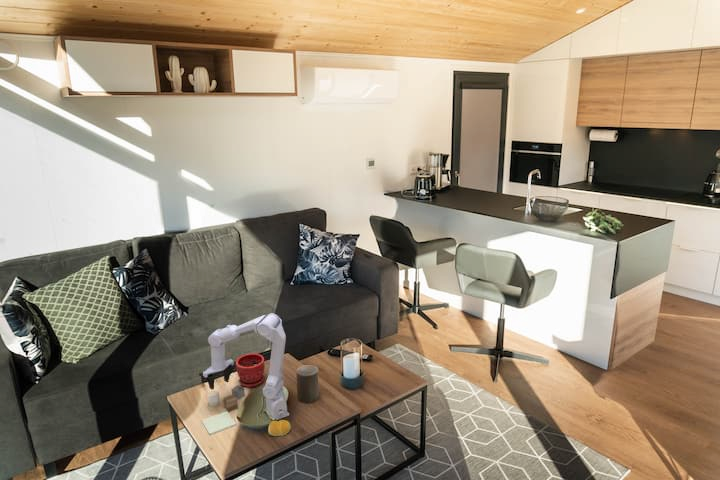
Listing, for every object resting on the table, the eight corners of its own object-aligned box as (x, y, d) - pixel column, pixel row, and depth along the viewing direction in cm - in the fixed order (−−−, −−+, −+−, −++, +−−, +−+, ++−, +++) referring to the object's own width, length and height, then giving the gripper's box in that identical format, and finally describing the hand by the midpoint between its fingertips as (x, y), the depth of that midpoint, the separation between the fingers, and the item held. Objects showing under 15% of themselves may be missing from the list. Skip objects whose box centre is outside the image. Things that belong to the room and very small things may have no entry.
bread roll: (291, 435, 197) (290, 426, 196) (268, 438, 195) (267, 429, 194) (290, 422, 204) (289, 414, 203) (268, 425, 203) (267, 417, 202)
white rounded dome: (221, 404, 218) (220, 394, 216) (210, 408, 215) (209, 398, 214) (218, 399, 222) (216, 389, 220) (207, 403, 219) (205, 393, 218)
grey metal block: (244, 395, 224) (244, 387, 223) (238, 399, 221) (237, 391, 220) (239, 392, 227) (238, 385, 226) (232, 396, 224) (231, 389, 223)
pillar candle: (304, 406, 215) (303, 375, 212) (293, 396, 223) (292, 366, 219) (323, 398, 221) (322, 368, 217) (311, 389, 229) (310, 359, 225)
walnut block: (238, 408, 215) (237, 398, 213) (227, 412, 212) (226, 402, 211) (234, 404, 218) (233, 394, 217) (224, 407, 216) (223, 397, 214)
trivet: (236, 425, 203) (236, 423, 203) (209, 435, 197) (209, 433, 197) (227, 412, 212) (227, 411, 212) (201, 421, 206) (201, 420, 206)
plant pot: (232, 382, 236) (230, 359, 232) (256, 372, 244) (255, 350, 241) (246, 393, 226) (244, 369, 223) (271, 382, 235) (269, 359, 232)
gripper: (226, 347, 219) (227, 374, 222) (198, 360, 207) (199, 388, 211) (236, 353, 214) (237, 380, 218) (208, 366, 203) (209, 394, 207)
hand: (219, 384), depth 214 cm, fingers open, 7 cm apart
